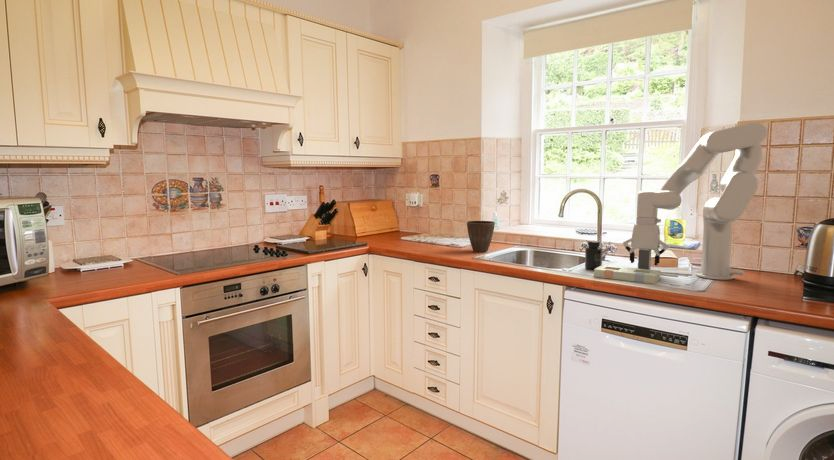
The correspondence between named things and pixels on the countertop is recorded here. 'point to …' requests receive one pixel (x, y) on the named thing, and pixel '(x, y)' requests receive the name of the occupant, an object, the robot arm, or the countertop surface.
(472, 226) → the plant pot
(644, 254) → the dark grey tall block
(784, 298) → the countertop surface
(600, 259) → the supplement bottle
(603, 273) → the socket board
